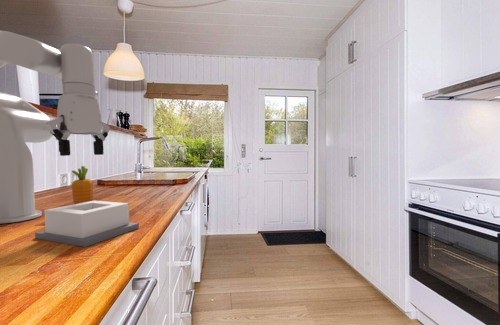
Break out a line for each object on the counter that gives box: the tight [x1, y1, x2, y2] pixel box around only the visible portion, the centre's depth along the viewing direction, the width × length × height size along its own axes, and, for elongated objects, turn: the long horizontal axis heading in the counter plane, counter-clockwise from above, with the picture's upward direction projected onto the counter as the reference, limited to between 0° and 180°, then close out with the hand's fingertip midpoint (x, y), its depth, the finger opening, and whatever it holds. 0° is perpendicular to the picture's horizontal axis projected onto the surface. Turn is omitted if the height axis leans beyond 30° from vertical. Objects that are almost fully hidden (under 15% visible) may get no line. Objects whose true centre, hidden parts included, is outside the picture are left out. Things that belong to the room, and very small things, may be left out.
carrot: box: [71, 165, 94, 204], centre depth 75 cm, size 5×5×15 cm
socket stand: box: [34, 200, 140, 248], centre depth 63 cm, size 16×14×6 cm
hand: (83, 155), depth 75 cm, fingers open, 9 cm apart
